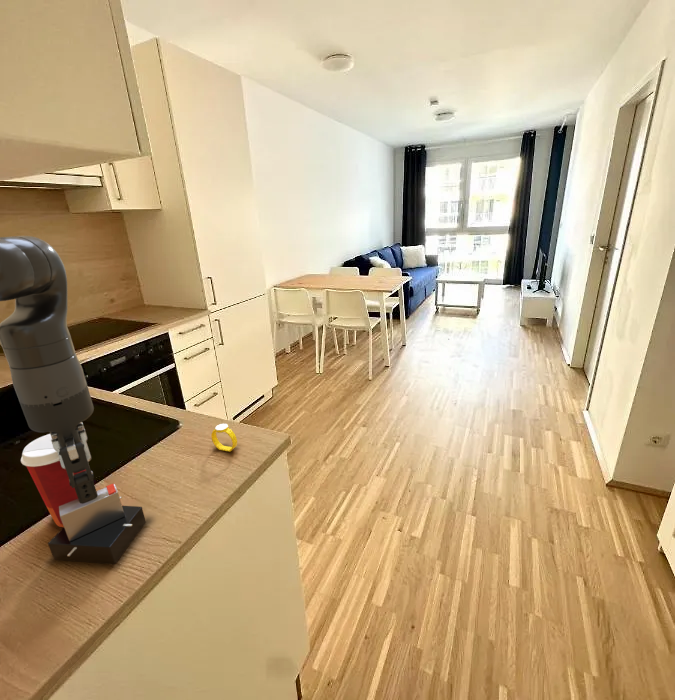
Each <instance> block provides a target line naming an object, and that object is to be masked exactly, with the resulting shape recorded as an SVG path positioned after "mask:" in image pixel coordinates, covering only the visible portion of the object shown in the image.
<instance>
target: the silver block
mask: <svg viewBox="0 0 675 700" xmlns="http://www.w3.org/2000/svg"><path fill="white" fill-rule="evenodd" d="M96 491H97V495H98V496H97V498H95V499H93V500H91V501H89V502H86V503H84V504H81V503H80V502H79V500H78V499H76V500H73V501H71V502H69V503H66V504H64V505H61V506H59V512H60V518H61V520H62V523H63V526H64V527H63V528H65V531H66V533H67V536H68V539H69V541H72V540H75V539H77V538H79V537H81V536H83V535H85V534H88V533H90V532H92V531H94V530H96V529H98V528H101V527H103V526H105V525H107V524H109V523H111V522H114V521H116V520H118V519H120V518H122V517H124V516H125V514H124V511H123V507H122V506H123V504H122V502H121V499H120V493H119V491H118V488H117V485H116V483H111V484H107V485H106V486H105V487H103V488H100V489H99V490H96Z"/></svg>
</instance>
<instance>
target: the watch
mask: <svg viewBox="0 0 675 700" xmlns="http://www.w3.org/2000/svg"><path fill="white" fill-rule="evenodd" d="M217 433H219V434H221V433H225V434H226V435H227V436H228V437H229V438H230V440H231V442H232V445H231V446H228V445H223V444H222V443H221V442H220V440H219V438H218V435H217ZM210 436H211V441H212V443H213V445H214V446H215V448H217V449H218V450H219V451H225V452H232V451H233V450H234V449H235V448H236V447H237V445H238V439H237V436H236V434H235V432H234V431H233V430H232V429H231V428H229V424H228V423H220V424H218V425H216V426H215V428H214V429H213V430H212V432H211V434H210Z"/></svg>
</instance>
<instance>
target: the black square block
mask: <svg viewBox="0 0 675 700" xmlns="http://www.w3.org/2000/svg"><path fill="white" fill-rule="evenodd" d="M119 497H120V500H121V499H122V498H123V496H120V495H119ZM122 507H123V511H124V514H125V516H124V517H122V518H120V519H118V520H116V521H114V522H111V523H109V524H107V525H105V526H103V527H101V528H98V529H96V530H94V531H92V532H90V533H88V534H85V535H83V536H81V537H79V538H77V539H75V540H72V541H69V539H68V536H67V533H66V531H65V528H64V527H62V529H61V530H60V531H58V532H57V533H56V534H55V535H54V536H53V538H52V539H50V540H49V542H48V543H47V545H48V548H49V550H50V552H51V555H52V557H53V561H58V562H59V561H60V562H74V563H75V562H76V563H90V564H106V565H116V564H117V563H118V561H119V560H120V559H121V557H122V556H123V555H124V553H125V551H127V549H128V548H129V547H130V545H131V543H132V542H133V541H134V540H135V538H136V537H137V536H138V534H139V533H140V532H141V530H142V529H143V527H144V526H145V524H146V523H147V521H146V518H145V514H144V510H143V506H137V505H122Z"/></svg>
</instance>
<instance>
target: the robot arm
mask: <svg viewBox="0 0 675 700" xmlns="http://www.w3.org/2000/svg"><path fill="white" fill-rule="evenodd" d="M12 300H14V311H13V312H12V313H11V314H10V315H9V316H8V317H6V318H5V319H3V320H2V321H1V322H0V346H1V347H2V350H3V354H4V356H5V359H6V361H7V365H8V368H9V370H10V377H11V382H12V386H13V388H14V391H15V394H16V396H17V398H18V402H19V404H20V407H21V410H22V413H23V415H24V417H25V420H26V423H27V426H28V428H29V429H30V430H31V431H32V432H36V433H49V434H51V438H52V439H51V441H52V445H53V448H54V450H55V451H57V453H58V457H59V460H60V463H61V467H62V468H63V469H66V471H67V474H68V477H69V481H70V483H69V484H70V486H72V488H75V491H76V494H77V497H78V500H79V502H80V503H81V504H84V503H86V502H89V501H91V500H93V499H95V498H97V496H98V495H97V491H98V490H97V488H96V485H95V483H94V478H95V475H94V472H93V470H91V467H90V465H89V464H90V463H89V462H90V461H91V460H92V455H91V452H90V448H89V446H88V443H87V442H88V435H87V432H86V429H85V426H84V423H83V422H84V421H86V420H87V419H89V418H90V417H91V416H92V414H93V413H94V411H95V410H94V409H95V407H94V403H93V400H92V397H91V393H90V390H89V386H88V383H87V380H86V376H85V373H84V369H83V366H82V364H81V362H80V360H79V358H78V356H77V353H76V350H75V346H74V343H73V339H72V336H71V333H70V330H69V328H68V322H67V321H68V311H69V310H68V307H69V306H68V305H69V304H68V303H69V302H68V301H69V300H68V277H67V271H66V266H65V264H64V262H63V260H62V258H61V256H60V254H59V253H58V251H56V249H55V248H54V247H53V246H52V245H51V244H49V243H48V242H47V241H45V240H44V239H41V238H39V237H36V236H33V235H15V236H14V235H13V236H0V302H8V301H12ZM83 470H86V471H83ZM80 471H83V472H80ZM78 472H80V473H78ZM73 473H78V474H75V475H74V474H73Z"/></svg>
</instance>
